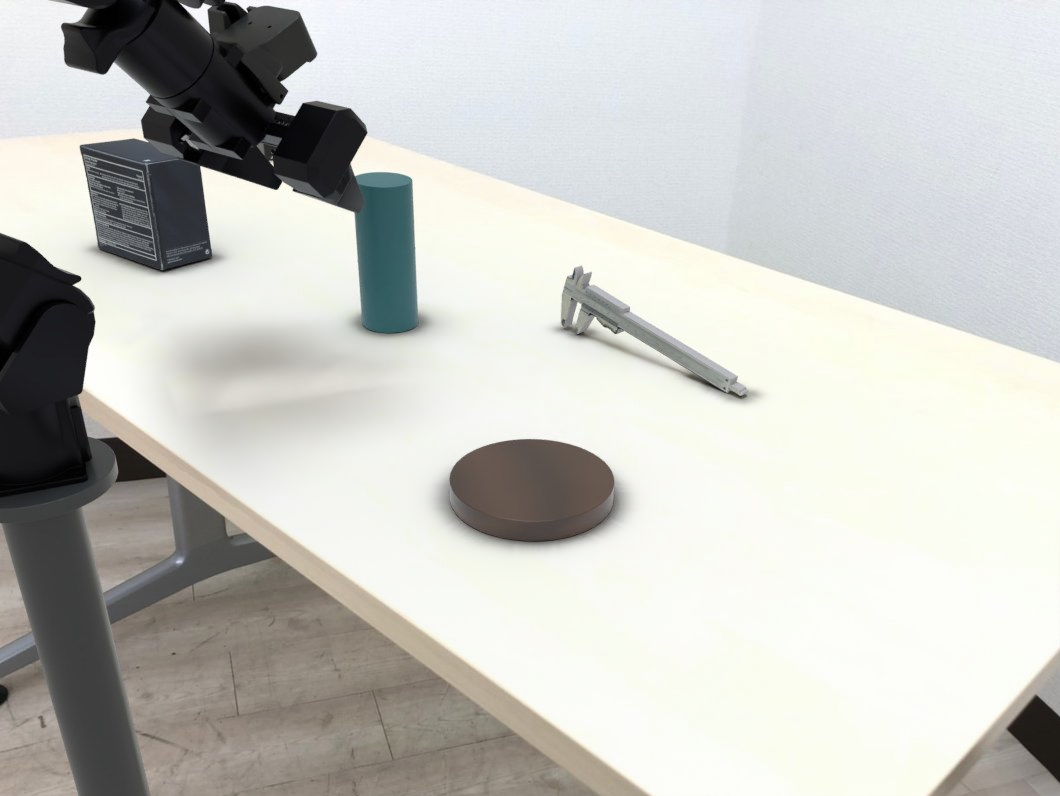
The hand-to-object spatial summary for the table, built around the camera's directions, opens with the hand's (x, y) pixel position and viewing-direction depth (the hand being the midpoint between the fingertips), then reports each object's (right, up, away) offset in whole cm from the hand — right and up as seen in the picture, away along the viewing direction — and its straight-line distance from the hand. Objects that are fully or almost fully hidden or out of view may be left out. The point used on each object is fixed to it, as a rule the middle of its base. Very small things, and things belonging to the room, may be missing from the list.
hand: (319, 196), depth 83 cm
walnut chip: (+18, -24, -13) cm, 33 cm away
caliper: (+27, -12, +9) cm, 30 cm away
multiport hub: (-26, +24, +63) cm, 72 cm away
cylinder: (+3, -8, +12) cm, 15 cm away
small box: (-24, 0, +24) cm, 34 cm away
